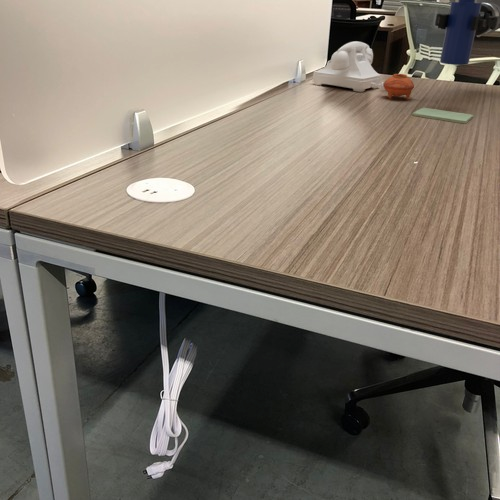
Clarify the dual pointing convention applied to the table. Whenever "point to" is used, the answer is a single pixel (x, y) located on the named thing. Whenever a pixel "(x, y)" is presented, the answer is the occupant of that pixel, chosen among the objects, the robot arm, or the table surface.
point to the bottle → (459, 32)
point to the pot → (398, 85)
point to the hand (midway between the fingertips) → (456, 22)
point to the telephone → (350, 68)
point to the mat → (443, 115)
